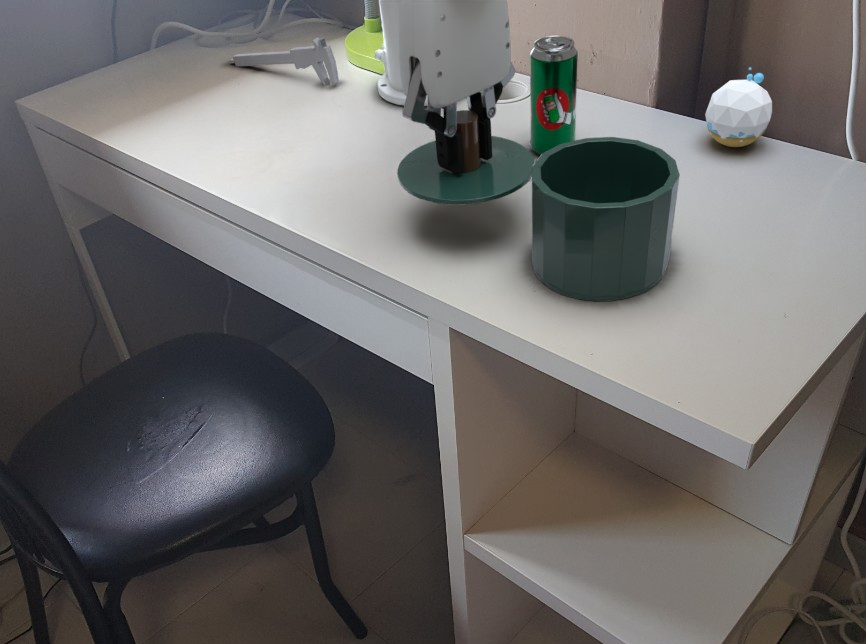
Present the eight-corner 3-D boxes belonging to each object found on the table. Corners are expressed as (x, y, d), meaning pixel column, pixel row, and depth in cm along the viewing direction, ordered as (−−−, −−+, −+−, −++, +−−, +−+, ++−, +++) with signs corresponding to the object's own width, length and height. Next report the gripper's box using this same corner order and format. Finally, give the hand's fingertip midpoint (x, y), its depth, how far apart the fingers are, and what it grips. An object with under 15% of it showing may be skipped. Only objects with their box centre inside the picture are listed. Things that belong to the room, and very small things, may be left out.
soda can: (549, 134, 100) (550, 30, 91) (583, 146, 97) (587, 40, 89) (521, 151, 97) (520, 45, 89) (556, 163, 94) (557, 55, 86)
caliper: (340, 84, 115) (332, 38, 111) (335, 87, 115) (327, 40, 111) (233, 62, 125) (223, 18, 120) (228, 65, 124) (217, 21, 120)
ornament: (749, 164, 91) (763, 92, 86) (689, 148, 95) (699, 78, 89) (777, 139, 95) (791, 68, 89) (718, 125, 98) (728, 56, 93)
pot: (505, 264, 81) (502, 174, 74) (592, 212, 86) (596, 124, 80) (606, 319, 73) (613, 224, 67) (694, 258, 79) (708, 165, 73)
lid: (371, 179, 84) (362, 121, 80) (469, 132, 91) (466, 76, 86) (462, 226, 77) (457, 164, 72) (563, 171, 83) (564, 111, 78)
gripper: (491, -71, 76) (498, 123, 88) (347, -24, 69) (376, 181, 81) (552, -59, 72) (550, 144, 84) (405, -7, 64) (427, 207, 77)
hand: (465, 160), depth 82 cm, fingers closed on lid, 3 cm apart
